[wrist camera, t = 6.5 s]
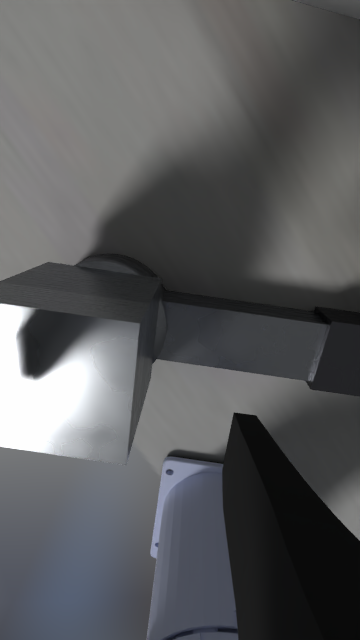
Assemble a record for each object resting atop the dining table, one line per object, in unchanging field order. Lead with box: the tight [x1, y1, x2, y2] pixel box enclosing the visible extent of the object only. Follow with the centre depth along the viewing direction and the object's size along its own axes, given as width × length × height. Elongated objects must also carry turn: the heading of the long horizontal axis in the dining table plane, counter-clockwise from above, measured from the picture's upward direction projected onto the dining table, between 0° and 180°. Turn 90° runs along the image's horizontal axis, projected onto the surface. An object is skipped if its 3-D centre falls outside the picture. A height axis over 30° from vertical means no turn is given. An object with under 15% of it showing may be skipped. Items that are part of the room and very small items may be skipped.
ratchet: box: [74, 254, 360, 396], centre depth 16 cm, size 6×23×5 cm, turn 82°
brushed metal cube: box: [0, 262, 162, 465], centre depth 13 cm, size 5×5×6 cm
